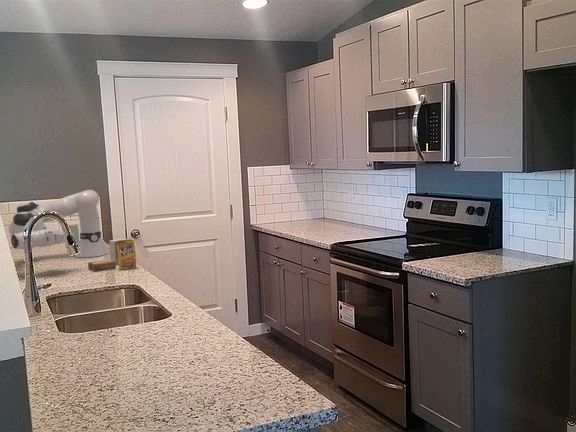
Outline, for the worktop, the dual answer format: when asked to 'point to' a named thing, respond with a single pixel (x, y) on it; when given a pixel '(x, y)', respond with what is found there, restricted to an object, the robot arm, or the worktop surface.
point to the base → (101, 265)
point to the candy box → (126, 254)
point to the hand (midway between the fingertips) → (74, 234)
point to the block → (75, 231)
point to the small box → (114, 250)
